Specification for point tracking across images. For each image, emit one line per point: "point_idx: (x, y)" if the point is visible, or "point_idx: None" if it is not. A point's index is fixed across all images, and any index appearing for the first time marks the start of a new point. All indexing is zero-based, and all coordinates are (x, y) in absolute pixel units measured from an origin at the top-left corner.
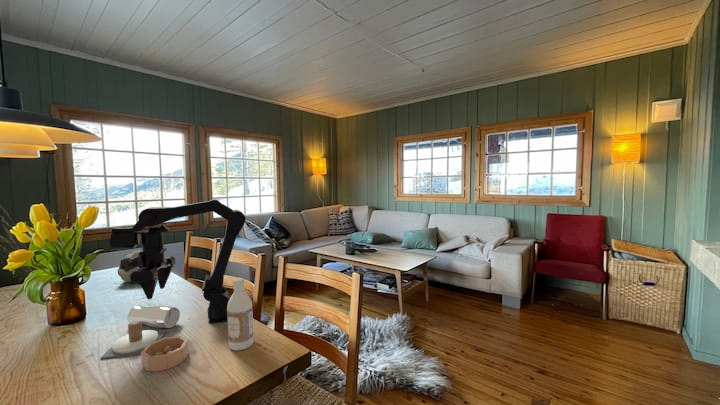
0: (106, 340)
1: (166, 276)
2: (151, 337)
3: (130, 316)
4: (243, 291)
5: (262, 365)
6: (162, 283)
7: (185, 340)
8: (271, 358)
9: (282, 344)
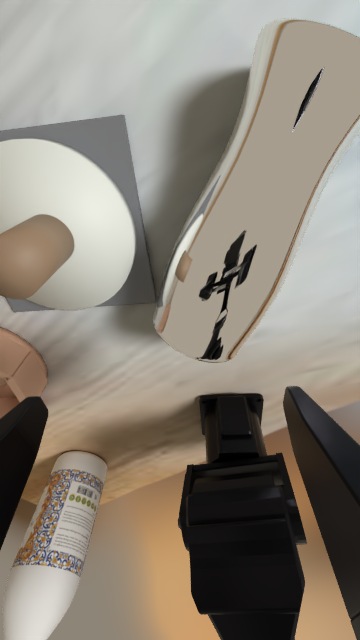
0: (87, 5)
1: (335, 555)
2: (69, 295)
3: (258, 60)
4: None
5: None
6: (301, 446)
7: None
8: None
9: None
